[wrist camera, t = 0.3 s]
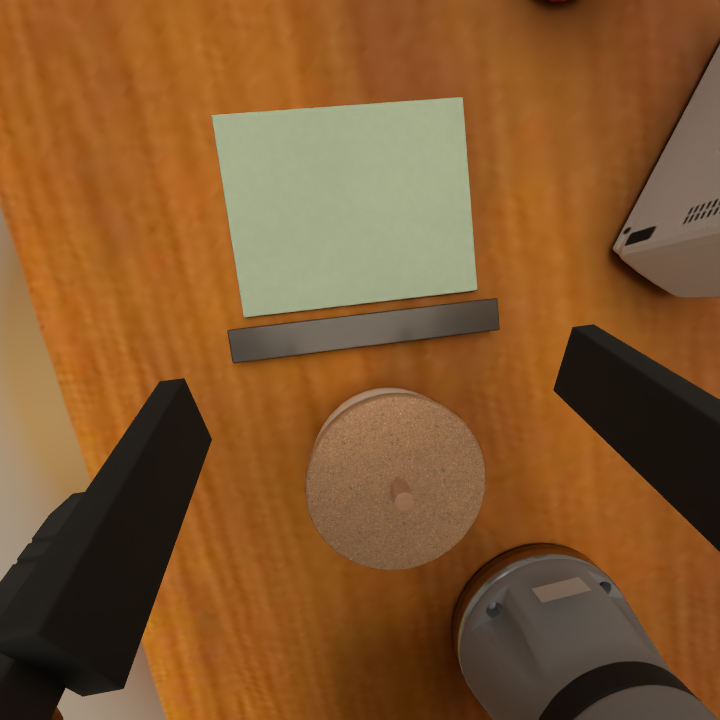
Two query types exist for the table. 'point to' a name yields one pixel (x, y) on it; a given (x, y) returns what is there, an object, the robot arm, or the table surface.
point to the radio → (682, 203)
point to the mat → (347, 204)
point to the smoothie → (557, 0)
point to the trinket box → (394, 479)
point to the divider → (362, 330)
